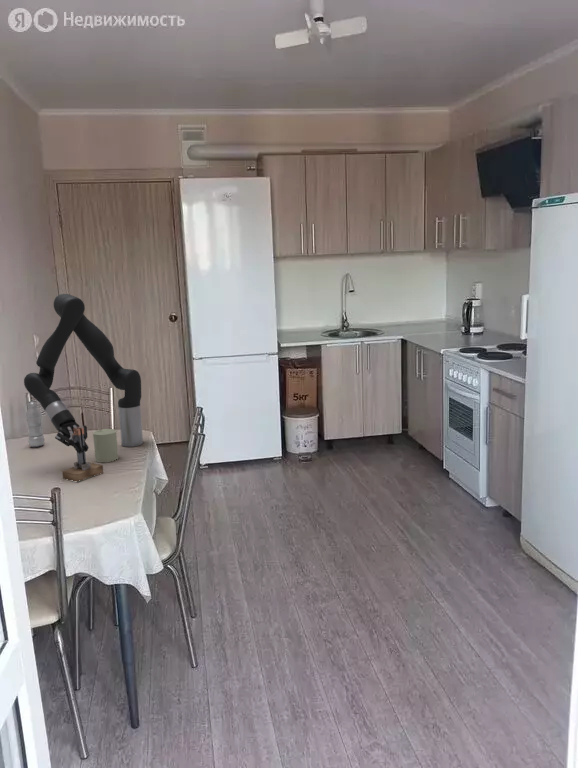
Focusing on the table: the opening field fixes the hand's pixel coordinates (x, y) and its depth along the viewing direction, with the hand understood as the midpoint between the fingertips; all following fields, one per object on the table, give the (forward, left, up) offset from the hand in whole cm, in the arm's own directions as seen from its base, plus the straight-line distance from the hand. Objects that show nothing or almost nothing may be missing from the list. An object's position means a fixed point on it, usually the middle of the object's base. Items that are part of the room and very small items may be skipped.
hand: (84, 451), depth 230 cm
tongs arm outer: (0, -2, -6) cm, 7 cm away
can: (-21, 0, -10) cm, 23 cm away
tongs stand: (-1, -2, -10) cm, 10 cm away
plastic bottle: (-40, -38, -10) cm, 56 cm away
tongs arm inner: (-1, -1, -6) cm, 7 cm away
